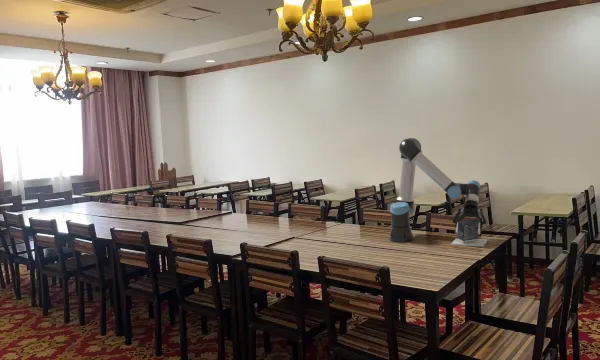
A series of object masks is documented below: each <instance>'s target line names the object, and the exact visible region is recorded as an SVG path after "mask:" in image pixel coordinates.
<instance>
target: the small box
mask: <svg viewBox="0 0 600 360" xmlns="http://www.w3.org/2000/svg"><path fill="white" fill-rule="evenodd" d="M478 226H479V221H478V220H475V219H467V220H462V221H459V222H458V234H457V233H456V235H457V237H456V238H458V239H460V240H462V241H467V240H474V239H479V234H478Z"/></svg>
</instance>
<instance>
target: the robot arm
mask: <svg viewBox="0 0 600 360" xmlns="http://www.w3.org/2000/svg"><path fill="white" fill-rule="evenodd" d="M398 148H399V149H398V150H399V152H400V159H401V161H402V163H401V175H400V183H399V194H398V196H397V197H396V198H395V199H396V200H395V202H394V203H392V204H390V209H389V210H390V222H391V223H390V224H391V229H390V233H389V241H390V242H394V243H406V242H412V241H413V240H414V238H415V237H414V234H413V232H412V228H411V224H410V223H411V221H410V218H411V217H412V216H413V215H414V212H415V206H414V204H415V199H414V198H413V193H414V184H415V175H416V174H415V173H416V166H417V167H418V168H419V169H420V170H421V171H422V172H424V173H425V174H426V175H427V176H428V177H429V178H430V179H431V180H432V181H433V182H434V183H436V184H437V185H438V186H439V187H440V188H441V189H442V190H443V191H444V192H445V193H446V194H447V195H448V197H449V198H451V199H452V200H453V199H454V200H455V199H458V198H459V197H461V196H465V200H464V201H465V202H464V208H463V209H462V208H461V207H460V208H458V211H457V213H456V214H455V216H454V217H453V219H452V223H453V224H454V228H455V229H456V230H455V232H456V235H457V234H458V222H459V221H464V219H465V218H466V217H474V218H475V219H476V221H477V222H479V226H478V236H479V235H481V230H483V227H484V225H487V220H486V218H485V216H484V212H483V208H480V209H479V198H480V193H481V192H480V191H481V183H480V182H479V181H477V180H475V179H473V180H472V179H471V180H470V181H468V182H467V183H461V182H454V181H453V179H451V178H449V177H448V175H446V174H445V172H443V171H442V170H441V169H440V168H438V166H437V165H435V164H434V163H433V162H432V161H431V160H430V159H429V158H428V157H427V156H425V155H424V153H423V150H422V145H421V142H420V140H418V139H416V138H415V137H408V138H405V139H403V140H402V141H401V142H400V144H399V146H398ZM477 213H479V214H480V216H478V214H477ZM480 217H481V218H480Z"/></svg>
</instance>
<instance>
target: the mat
mask: <svg viewBox="0 0 600 360" xmlns="http://www.w3.org/2000/svg"><path fill="white" fill-rule="evenodd" d="M487 242H488V239H484V238H478V239H474V240H467V241H462V240H460V239H458V238H457V237H456V238H455V239H454V240H453V241H451V244H450V245H451V246H460V247H463V246H464V247H481V248H482V247H485V245H486V244H487Z"/></svg>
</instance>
